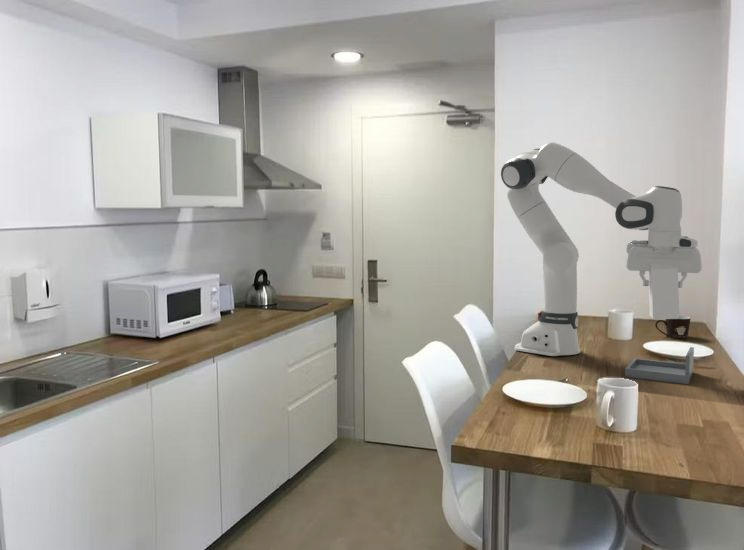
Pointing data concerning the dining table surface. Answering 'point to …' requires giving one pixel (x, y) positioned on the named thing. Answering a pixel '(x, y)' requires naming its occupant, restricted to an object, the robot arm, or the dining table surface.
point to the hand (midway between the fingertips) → (662, 286)
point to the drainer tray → (662, 369)
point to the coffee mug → (676, 327)
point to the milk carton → (663, 292)
